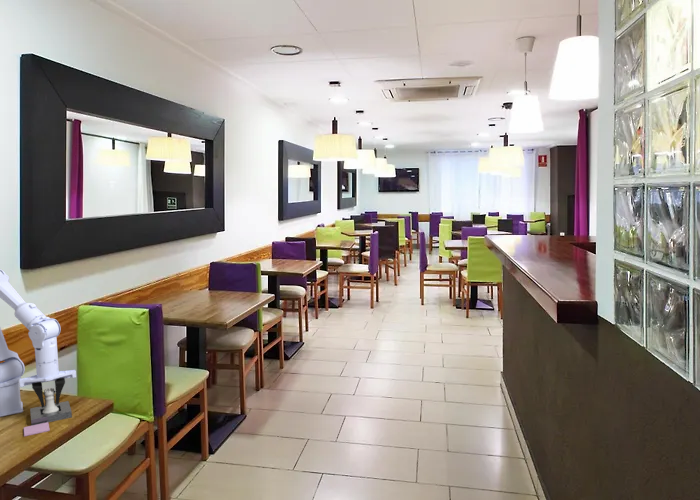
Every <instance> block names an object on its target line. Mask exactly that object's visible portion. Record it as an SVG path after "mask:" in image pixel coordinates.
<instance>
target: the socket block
mask: <svg viewBox="0 0 700 500" xmlns="http://www.w3.org/2000/svg"><path fill="white" fill-rule="evenodd" d="M70 405H71V404H70V402H69V400H66V401H62V402H59V404H58V405H56V406H57V407H58V408H59V411H57V412H53V413H48V414H43V413H42V412H43V410H44V408H45V405H44V407H43V408H42V407H41V406H40V405H39V406H36V407H32V408H31V407H30V410H29V411H30V422H31V426H32V425H37V424H42V423H46V422H48V423H51V422H56V421H62V420H66V419H70V418H73V414H72V413H73V412H72V408H71V406H70Z"/></svg>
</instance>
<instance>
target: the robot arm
mask: <svg viewBox="0 0 700 500" xmlns="http://www.w3.org/2000/svg"><path fill="white" fill-rule="evenodd" d="M0 299H1V300H3V301H4V302H5V303H6V304H7V305H9V306H10V307H11V308H12V309H13V310H14V317H15V318H16V319H17V320H18V321H19V322H20V323H21V324H22V325H23V326H24V327H25V328H26V329H27V330H28V333H27V334H28V338H29V339H30V340H31V343H32V346H33V348H34V355H35V358H34V359H35V370H36V372H35V373H36V374H35V375H32V376H27V377H23V378H22V376H23V375H24V374H25V371H26V367H25V364H24V362H23V360H21V358H20V357H19V354H18V352H16V351H13V350H11V349H9V348H8V344H7V342H6V339H5V336H4V333H3V330H2V328H1V327H0V417H5V416H10V415H15V414H21V413H23V412H24V408H23V406H24V405H23V401H22V399H21V398H22V397H21V389H20V388H23V387H26V386H30V385H31V387H32V390H33V392H35V394H36V395H37V397H38V400H39V402H40V405H41V407H42V408H43V407H44V406H45V399H44V395H43V393H44V390H43V383H47V382H54V385H55V386H54V387H55V404H56V405H58V404H59V403H60V398H61V394H62V391H63V388H64V386H65V384H66V379H69V378H72V379H74V378H77V371H76V369H70V370H69V369H68V370H59V367H60V366H59V355H58V341H57V340H58V339H57V338H58V336H59V335H60V333H61V325H60V323H59V321H58V320H57V319H55V318H52V317H51V318H50V316H46V315H45V314H44V313H43V312H42V311H41V309H39V308H38V307H37V305H36V304H35V303H33V302H26V301H25V300H24V299H23V297H22V296H21V295H20V294H19V292H17V290H16V289H15V288H14V286H12V284H11V283H10V276H9V275H8V274H7V273H6V272H5V271H4V270H3V269H2V268H0Z"/></svg>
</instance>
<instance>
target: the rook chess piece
mask: <svg viewBox="0 0 700 500" xmlns="http://www.w3.org/2000/svg"><path fill="white" fill-rule="evenodd" d="M43 400H44V406H45V408H44V410H43V412H42V413H43V414H48V413H53V412H57V411H59V408H58V407H57V406H56V390H55V389H54V388H53V387H50V388H46V389H44V390H43Z"/></svg>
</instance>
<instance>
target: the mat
mask: <svg viewBox="0 0 700 500" xmlns="http://www.w3.org/2000/svg"><path fill="white" fill-rule="evenodd" d="M49 423H50V422H46V423H42V424H37V425H32V424H31V425H29V426H25V427H23V437H28V436H33V435H37V434H41V433H47V432H50V424H49Z"/></svg>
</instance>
